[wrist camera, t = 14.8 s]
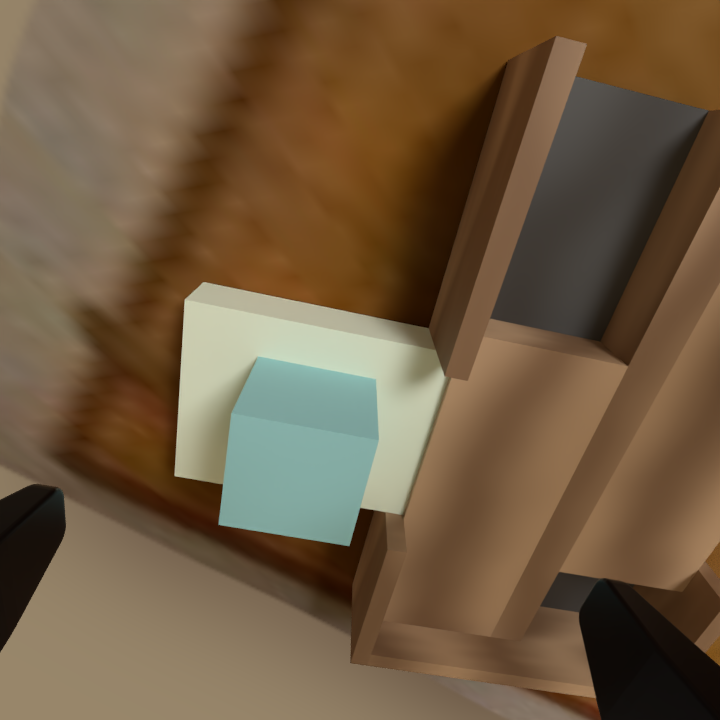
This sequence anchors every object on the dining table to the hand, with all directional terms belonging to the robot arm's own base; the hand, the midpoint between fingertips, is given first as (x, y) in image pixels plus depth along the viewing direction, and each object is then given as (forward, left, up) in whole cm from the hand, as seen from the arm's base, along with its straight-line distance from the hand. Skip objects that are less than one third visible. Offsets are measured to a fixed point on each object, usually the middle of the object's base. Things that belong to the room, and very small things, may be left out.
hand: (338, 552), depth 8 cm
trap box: (-11, +3, -12) cm, 17 cm away
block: (+1, +4, -10) cm, 11 cm away
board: (+1, +4, -12) cm, 13 cm away
